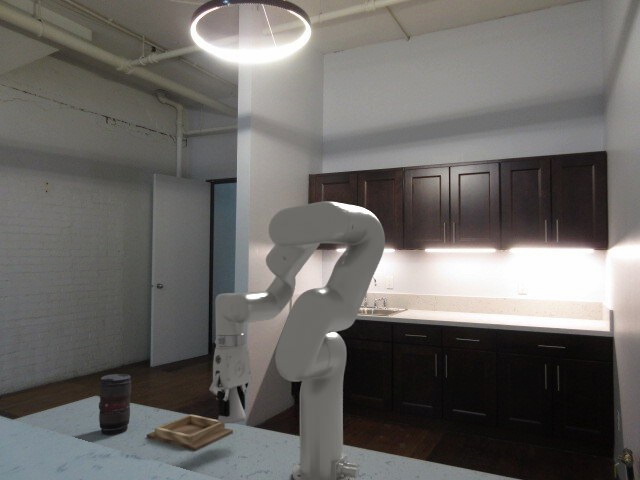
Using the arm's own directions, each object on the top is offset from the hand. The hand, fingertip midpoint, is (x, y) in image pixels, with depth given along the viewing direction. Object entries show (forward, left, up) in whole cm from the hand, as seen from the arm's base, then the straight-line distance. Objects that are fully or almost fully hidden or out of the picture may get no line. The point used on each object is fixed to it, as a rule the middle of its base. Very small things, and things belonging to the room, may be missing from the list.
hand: (232, 411), depth 118 cm
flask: (0, 0, -2) cm, 2 cm away
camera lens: (+36, +8, -9) cm, 38 cm away
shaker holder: (+15, 0, -9) cm, 17 cm away
